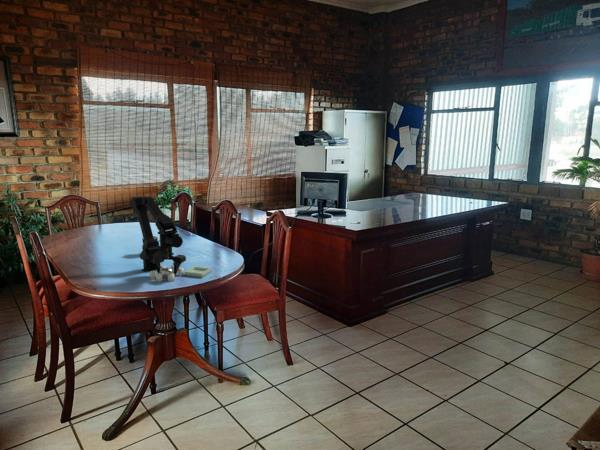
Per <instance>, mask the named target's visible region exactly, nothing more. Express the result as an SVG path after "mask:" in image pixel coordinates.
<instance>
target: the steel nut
mask: <svg viewBox="0 0 600 450" xmlns="http://www.w3.org/2000/svg"><path fill="white" fill-rule="evenodd" d="M168 273H172V268H171V267H166V268H163V269H162V276H163V279H168Z"/></svg>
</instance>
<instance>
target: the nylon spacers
mask: <svg viewBox="0 0 600 450" xmlns="http://www.w3.org/2000/svg"><path fill="white" fill-rule="evenodd" d="M163 268H167V265H160V273H158V272H157V270H155V271H149V278H150V280H155V282H156V283H161V282H163V280H164V278H163V276H162V269H163ZM170 268H172V273H168V278H167V282H175V275H174V265H173V264H172V265H171V267H170ZM177 276H179V277H182V276H185V271H184V267H179V269H178V271H177Z"/></svg>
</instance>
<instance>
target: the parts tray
mask: <svg viewBox="0 0 600 450" xmlns="http://www.w3.org/2000/svg"><path fill="white" fill-rule="evenodd" d="M211 273H212V267H203V266H196V265H195V266H194V265H193V266H192V267H190V268H188V269H186V270H185V271H184V277H190V276H191V278H200V279H204V278H205V277H207V276H208V275H210V274H211Z"/></svg>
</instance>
